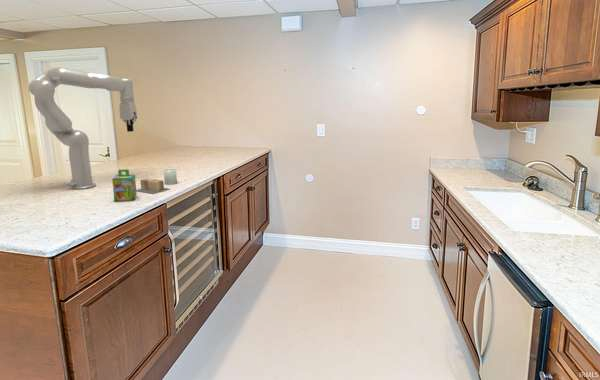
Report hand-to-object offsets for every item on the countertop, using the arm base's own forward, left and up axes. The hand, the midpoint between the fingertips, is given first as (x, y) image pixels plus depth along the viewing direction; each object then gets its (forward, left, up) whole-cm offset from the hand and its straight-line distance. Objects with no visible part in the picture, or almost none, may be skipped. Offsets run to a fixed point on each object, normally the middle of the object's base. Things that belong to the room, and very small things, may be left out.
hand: (130, 131), depth 226 cm
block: (-16, -27, -26) cm, 41 cm away
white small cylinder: (0, -30, -29) cm, 42 cm away
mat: (-17, -33, -29) cm, 48 cm away
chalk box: (-36, -36, -29) cm, 59 cm away
